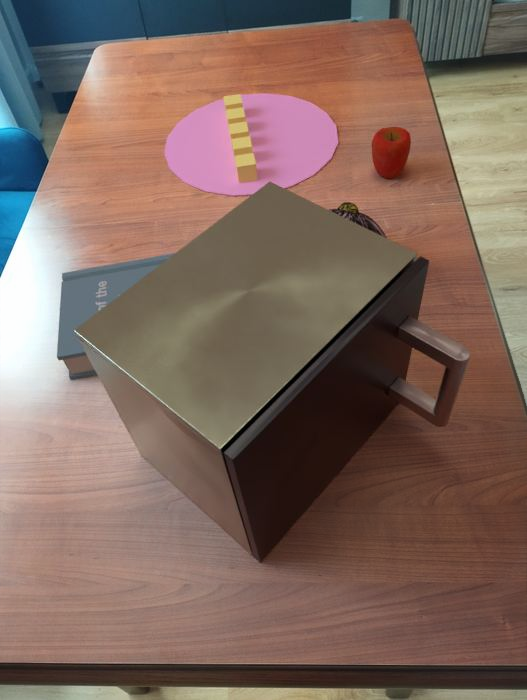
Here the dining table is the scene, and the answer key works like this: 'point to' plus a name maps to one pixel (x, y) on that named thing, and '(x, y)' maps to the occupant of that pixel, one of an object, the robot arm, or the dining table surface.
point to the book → (93, 304)
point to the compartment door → (339, 410)
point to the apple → (390, 151)
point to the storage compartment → (233, 333)
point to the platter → (251, 143)
